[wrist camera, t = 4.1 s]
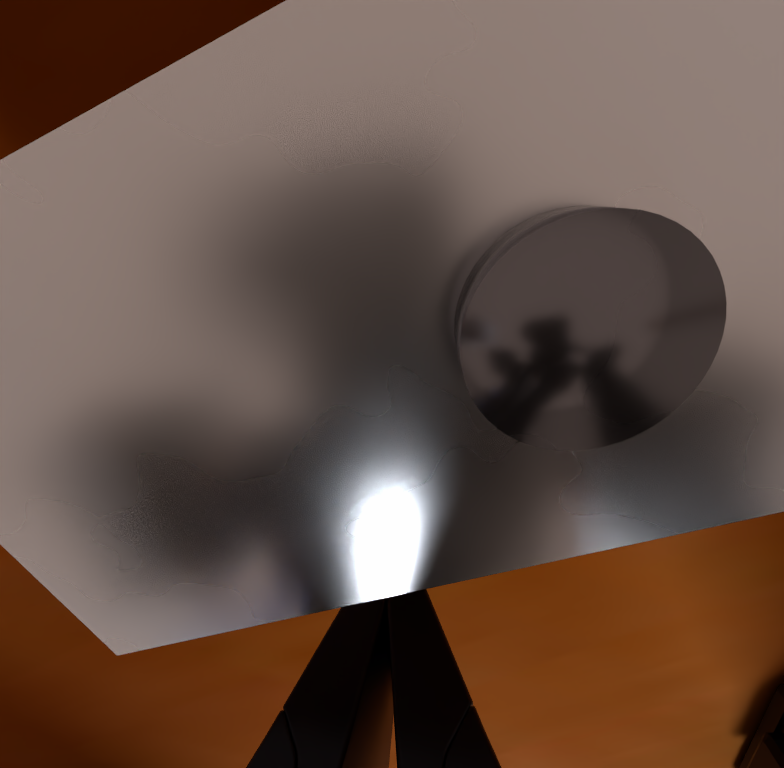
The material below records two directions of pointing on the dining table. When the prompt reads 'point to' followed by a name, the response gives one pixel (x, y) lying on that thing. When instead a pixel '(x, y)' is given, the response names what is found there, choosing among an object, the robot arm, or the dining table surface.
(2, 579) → the dining table surface
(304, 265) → the block
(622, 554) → the dining table surface
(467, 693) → the robot arm
